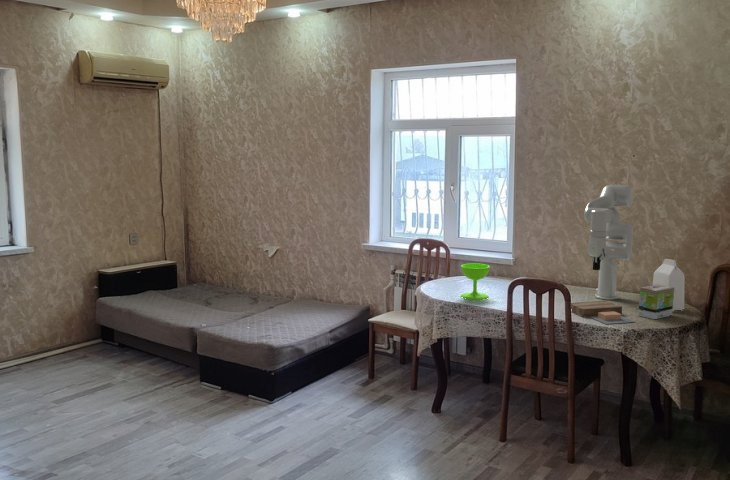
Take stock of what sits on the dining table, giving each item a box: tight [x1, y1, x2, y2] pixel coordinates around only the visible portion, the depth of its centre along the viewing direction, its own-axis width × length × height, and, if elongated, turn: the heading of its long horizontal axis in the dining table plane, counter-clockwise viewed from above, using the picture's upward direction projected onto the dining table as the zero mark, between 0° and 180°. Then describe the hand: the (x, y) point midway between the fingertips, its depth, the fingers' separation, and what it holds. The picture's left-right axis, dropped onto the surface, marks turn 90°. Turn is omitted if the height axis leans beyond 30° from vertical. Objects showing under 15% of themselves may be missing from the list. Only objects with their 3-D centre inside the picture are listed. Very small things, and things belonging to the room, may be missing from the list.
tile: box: [598, 311, 622, 320], centre depth 329 cm, size 6×9×2 cm, turn 103°
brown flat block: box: [570, 300, 623, 318], centre depth 342 cm, size 14×22×4 cm, turn 104°
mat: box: [589, 315, 636, 326], centre depth 328 cm, size 14×16×1 cm
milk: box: [651, 258, 686, 312], centre depth 350 cm, size 12×12×26 cm
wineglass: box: [460, 263, 491, 301], centre depth 376 cm, size 16×16×18 cm
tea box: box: [637, 285, 674, 320], centre depth 335 cm, size 15×10×15 cm, turn 126°
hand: (596, 269), depth 341 cm, fingers closed
